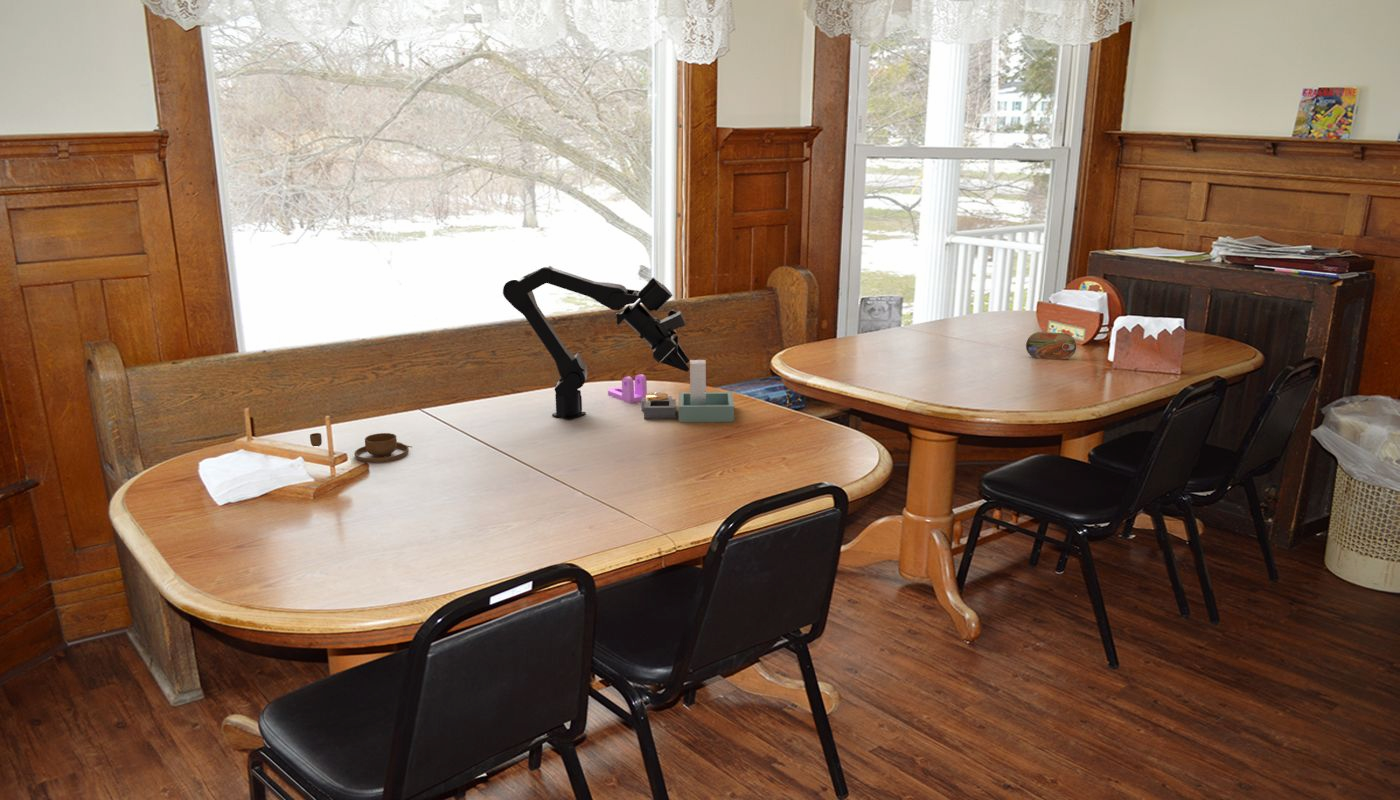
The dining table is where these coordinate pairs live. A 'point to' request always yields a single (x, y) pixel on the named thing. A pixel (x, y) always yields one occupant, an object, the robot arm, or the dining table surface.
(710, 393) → the tray
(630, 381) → the bracket
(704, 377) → the pin
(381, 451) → the place setting
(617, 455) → the dining table surface
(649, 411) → the tensioner bracket
